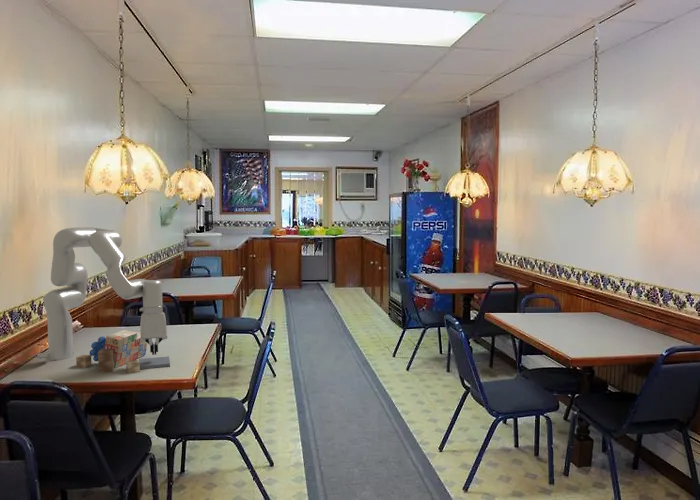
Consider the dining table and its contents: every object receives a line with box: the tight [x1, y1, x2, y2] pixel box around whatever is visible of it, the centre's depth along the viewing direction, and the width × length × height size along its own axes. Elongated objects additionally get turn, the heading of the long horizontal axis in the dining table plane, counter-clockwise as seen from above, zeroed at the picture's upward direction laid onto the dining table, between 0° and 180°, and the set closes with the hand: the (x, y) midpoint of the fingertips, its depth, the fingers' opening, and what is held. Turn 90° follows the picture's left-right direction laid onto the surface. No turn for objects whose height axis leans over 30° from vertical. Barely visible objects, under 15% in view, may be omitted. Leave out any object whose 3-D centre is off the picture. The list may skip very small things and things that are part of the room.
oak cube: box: [75, 354, 93, 368], centre depth 223 cm, size 4×4×4 cm
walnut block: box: [97, 349, 115, 374], centre depth 216 cm, size 5×5×8 cm
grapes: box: [88, 335, 106, 362], centre depth 227 cm, size 12×7×12 cm, turn 106°
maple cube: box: [125, 359, 141, 374], centre depth 215 cm, size 4×4×4 cm
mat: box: [138, 355, 171, 370], centre depth 225 cm, size 12×12×1 cm
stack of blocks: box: [104, 329, 148, 369], centre depth 229 cm, size 21×6×12 cm, turn 168°
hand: (154, 353), depth 225 cm, fingers closed
